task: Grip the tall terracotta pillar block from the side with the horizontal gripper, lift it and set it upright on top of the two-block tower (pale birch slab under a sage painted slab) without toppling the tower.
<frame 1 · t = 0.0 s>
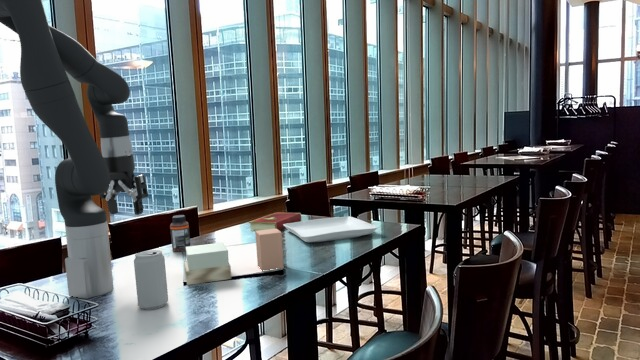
hand: (126, 213, 129), 17 cm above the table, tool pointing down, fingers open, 8 cm apart
square plate: (328, 235, 172), on the table
birch base block: (207, 278, 127), on the table, touching sage top block
sage top block: (207, 263, 127), point 3 cm above the table, touching birch base block
beverage can: (153, 306, 107), on the table
hardcover book: (276, 227, 192), on the table
supplement bottle: (181, 250, 160), on the table
terracotta pillar block: (270, 267, 133), on the table
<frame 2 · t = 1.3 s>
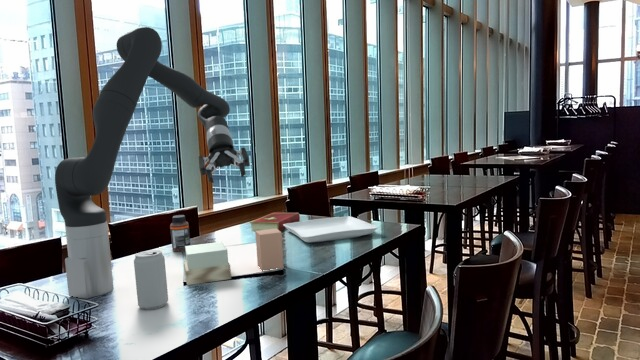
hand: (227, 177, 135), 25 cm above the table, tool tilted 55°, fingers open, 8 cm apart
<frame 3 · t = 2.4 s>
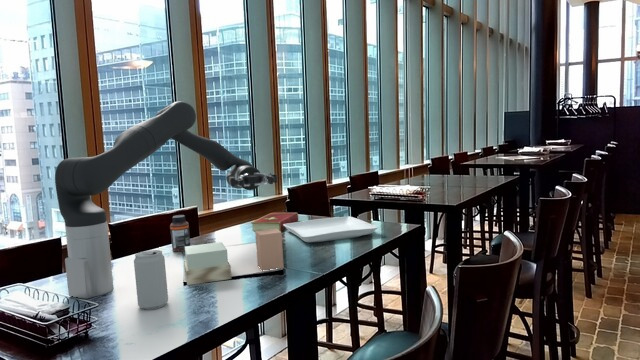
hand: (257, 181, 141), 23 cm above the table, tool horizontal, fingers open, 8 cm apart
nothing on the table moved.
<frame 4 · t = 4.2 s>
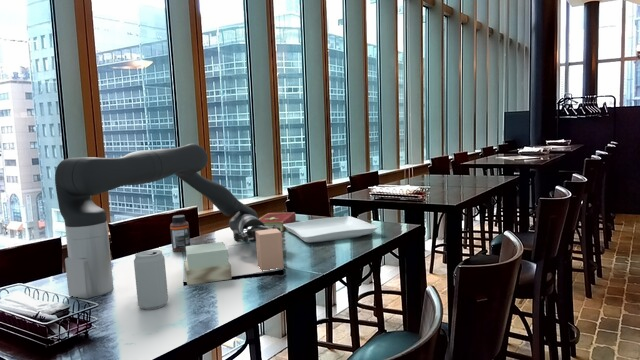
hand: (261, 237, 142), 6 cm above the table, tool horizontal, fingers open, 8 cm apart
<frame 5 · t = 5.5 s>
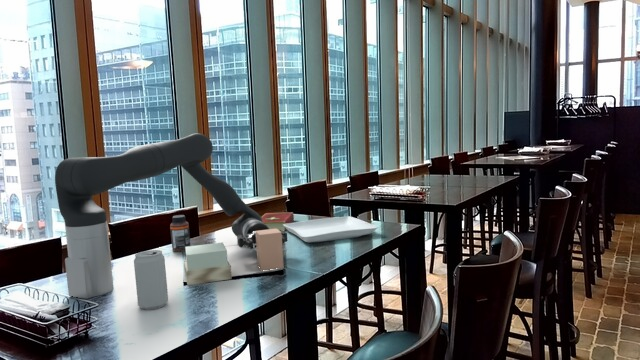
hand: (267, 243, 134), 6 cm above the table, tool horizontal, fingers open, 8 cm apart
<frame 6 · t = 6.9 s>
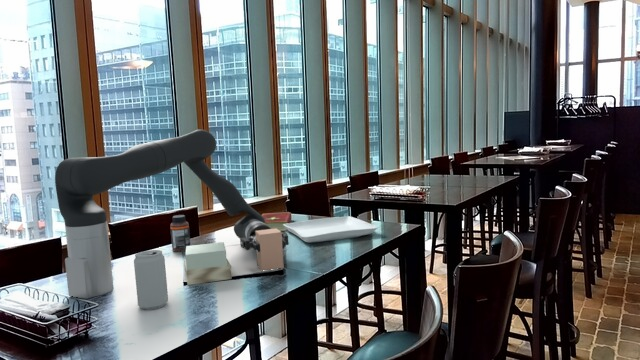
hand: (271, 246, 130), 6 cm above the table, tool horizontal, fingers closed on terracotta pillar block, 6 cm apart
terracotta pillar block: (270, 267, 133), on the table, touching gripper
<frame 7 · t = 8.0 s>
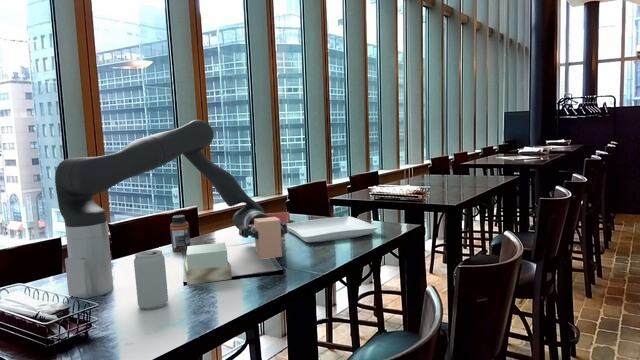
hand: (269, 234, 129), 10 cm above the table, tool horizontal, fingers closed on terracotta pillar block, 6 cm apart
terracotta pillar block: (268, 255, 132), point 3 cm above the table, touching gripper
when the fingers open (14 cm above the table, at t = 13.9 s): terracotta pillar block moves 1 cm, resting on sage top block.
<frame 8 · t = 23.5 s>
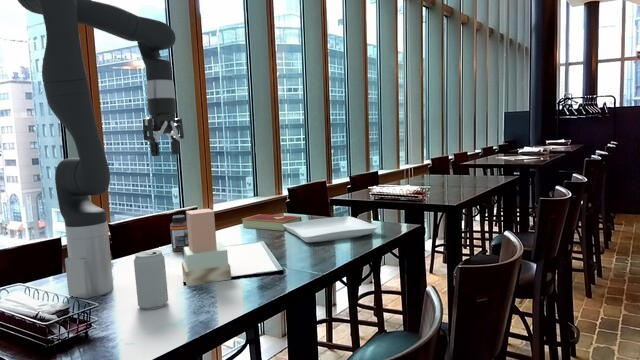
hand: (166, 155, 137), 32 cm above the table, tool pointing down, fingers open, 8 cm apart
sage top block: (206, 263, 126), point 4 cm above the table, touching birch base block, terracotta pillar block
hardcover book: (271, 227, 192), on the table
terracotta pillar block: (202, 249, 125), point 8 cm above the table, touching sage top block
at the end: terracotta pillar block inside the target area on the sage top block (0.8 cm from its centre), point 4.0 cm above the sage top block's base; sage top block 0.2 cm off-centre on the birch base block, point 4.0 cm above the birch base block's base; terracotta pillar block tilted 1° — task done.
